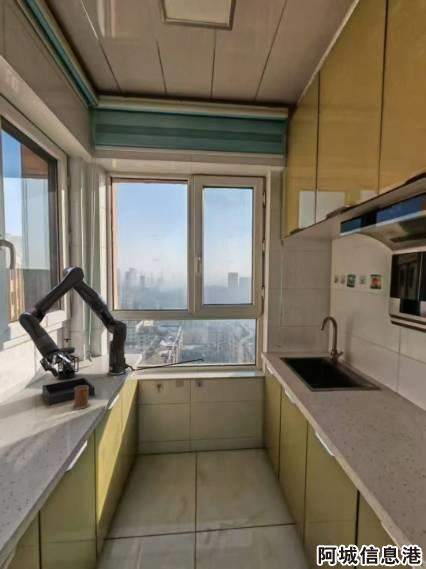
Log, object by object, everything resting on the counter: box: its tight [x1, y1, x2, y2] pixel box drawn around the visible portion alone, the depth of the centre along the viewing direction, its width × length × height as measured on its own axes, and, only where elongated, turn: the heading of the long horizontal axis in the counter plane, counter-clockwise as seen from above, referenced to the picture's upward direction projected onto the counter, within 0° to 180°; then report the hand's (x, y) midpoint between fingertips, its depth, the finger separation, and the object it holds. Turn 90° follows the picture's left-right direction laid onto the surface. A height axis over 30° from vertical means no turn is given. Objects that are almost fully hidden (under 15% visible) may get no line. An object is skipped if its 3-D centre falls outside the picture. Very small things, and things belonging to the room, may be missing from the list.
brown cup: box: [73, 385, 89, 411], centre depth 131 cm, size 6×6×9 cm
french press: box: [57, 337, 80, 381], centre depth 168 cm, size 12×9×23 cm
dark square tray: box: [41, 377, 95, 406], centre depth 142 cm, size 20×17×5 cm
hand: (65, 373), depth 134 cm, fingers open, 8 cm apart
